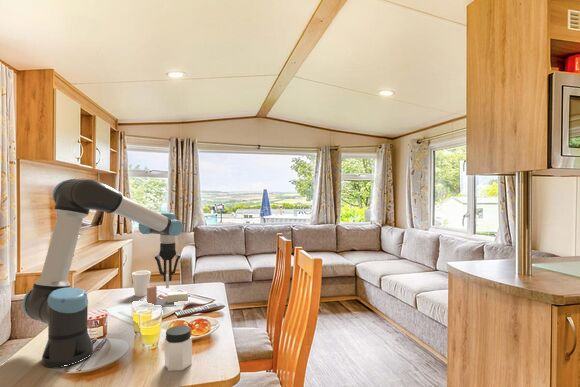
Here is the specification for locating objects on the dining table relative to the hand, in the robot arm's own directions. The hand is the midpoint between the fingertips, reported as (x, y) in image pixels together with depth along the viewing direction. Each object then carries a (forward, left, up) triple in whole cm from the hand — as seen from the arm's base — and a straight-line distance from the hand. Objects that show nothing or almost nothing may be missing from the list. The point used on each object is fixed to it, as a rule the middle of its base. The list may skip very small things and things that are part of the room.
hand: (167, 287), depth 174 cm
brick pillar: (-6, +7, -8) cm, 12 cm away
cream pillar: (0, 0, -6) cm, 6 cm away
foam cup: (+15, +15, -8) cm, 23 cm away
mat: (0, 0, -8) cm, 8 cm away
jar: (-65, -9, -8) cm, 66 cm away
